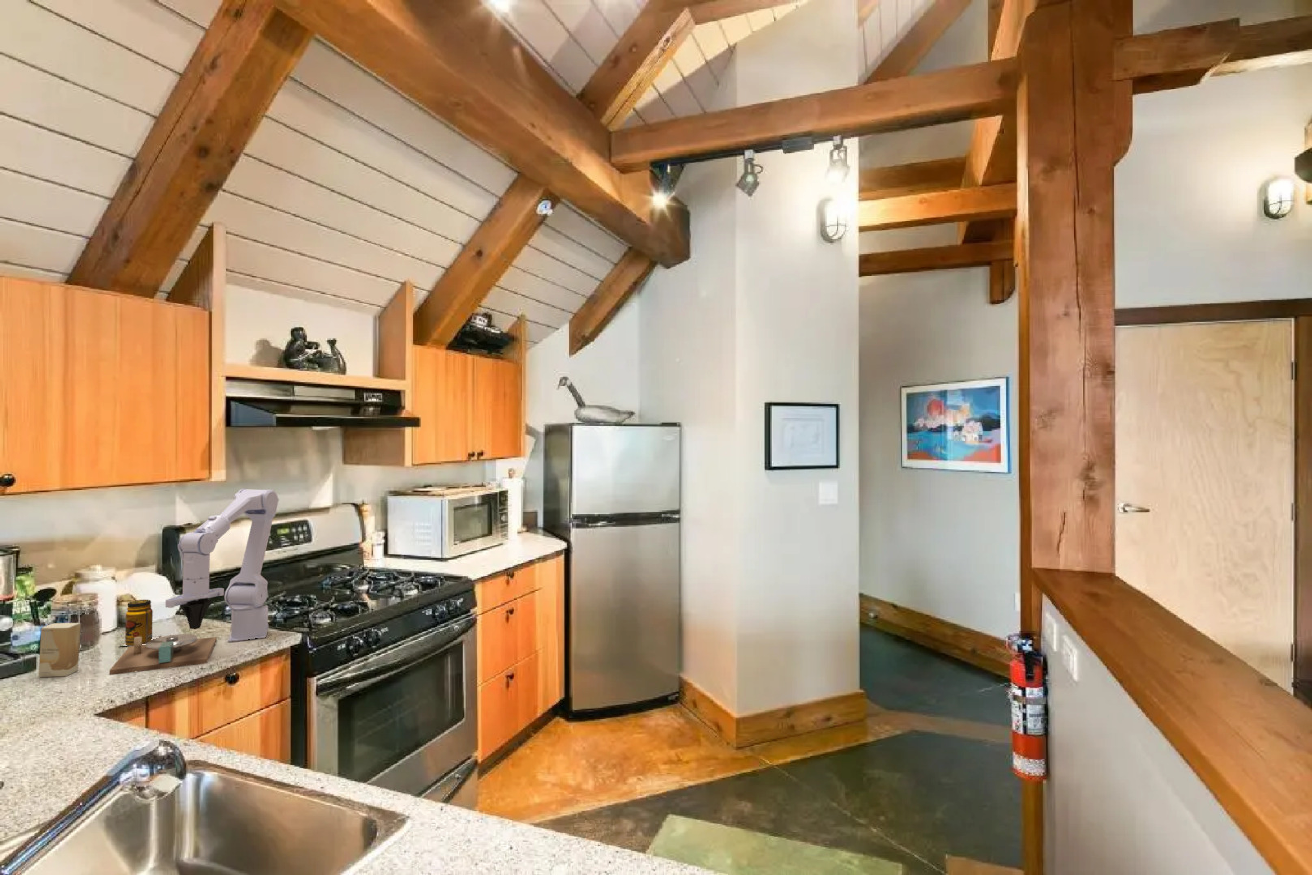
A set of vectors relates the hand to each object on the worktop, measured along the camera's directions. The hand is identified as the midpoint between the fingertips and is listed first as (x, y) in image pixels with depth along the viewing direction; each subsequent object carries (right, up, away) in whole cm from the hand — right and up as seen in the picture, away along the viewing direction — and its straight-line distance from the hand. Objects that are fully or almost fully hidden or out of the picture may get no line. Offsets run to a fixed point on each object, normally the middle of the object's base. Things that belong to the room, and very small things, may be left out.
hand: (195, 628), depth 171 cm
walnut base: (-8, -8, +2) cm, 12 cm away
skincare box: (-25, -8, -12) cm, 29 cm away
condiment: (-25, -8, +13) cm, 30 cm away
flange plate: (-7, -7, 0) cm, 10 cm away
